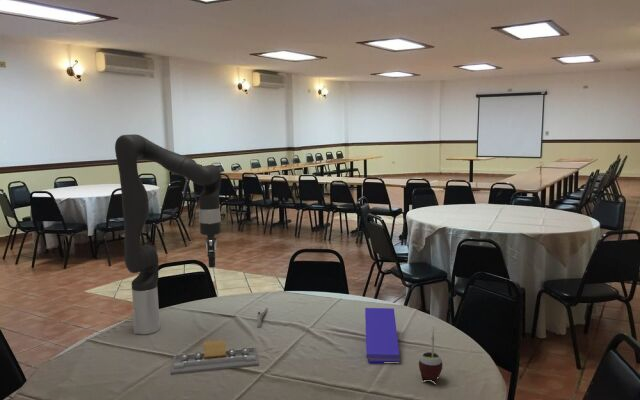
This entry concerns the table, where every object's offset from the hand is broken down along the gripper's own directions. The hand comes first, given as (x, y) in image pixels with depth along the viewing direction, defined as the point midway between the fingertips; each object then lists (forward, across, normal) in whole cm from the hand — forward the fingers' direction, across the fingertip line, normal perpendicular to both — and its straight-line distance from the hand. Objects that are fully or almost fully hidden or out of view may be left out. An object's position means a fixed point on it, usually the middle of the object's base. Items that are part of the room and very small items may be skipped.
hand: (212, 263), depth 189 cm
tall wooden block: (+27, +21, 0) cm, 34 cm away
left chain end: (+27, +21, -6) cm, 35 cm away
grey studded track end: (+27, +21, +7) cm, 35 cm away
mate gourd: (+28, +48, +65) cm, 86 cm away
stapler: (+28, +22, +58) cm, 68 cm away
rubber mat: (+28, +21, 0) cm, 35 cm away
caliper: (+28, -14, +19) cm, 37 cm away
